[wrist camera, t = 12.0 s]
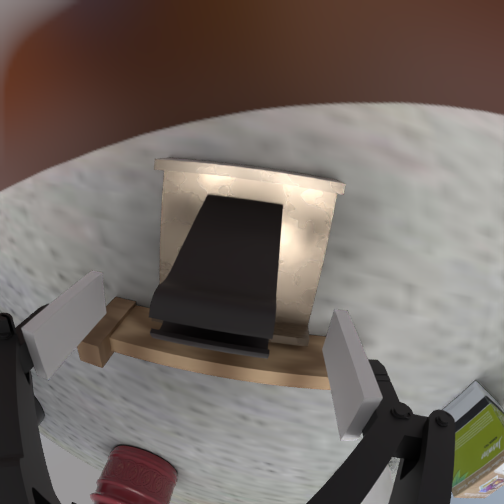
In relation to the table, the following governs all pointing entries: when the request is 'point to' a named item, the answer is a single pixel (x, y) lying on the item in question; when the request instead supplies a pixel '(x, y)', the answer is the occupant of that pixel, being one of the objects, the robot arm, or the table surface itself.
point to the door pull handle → (200, 352)
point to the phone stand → (223, 280)
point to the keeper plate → (292, 231)
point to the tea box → (477, 443)
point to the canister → (135, 478)
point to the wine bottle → (381, 489)
